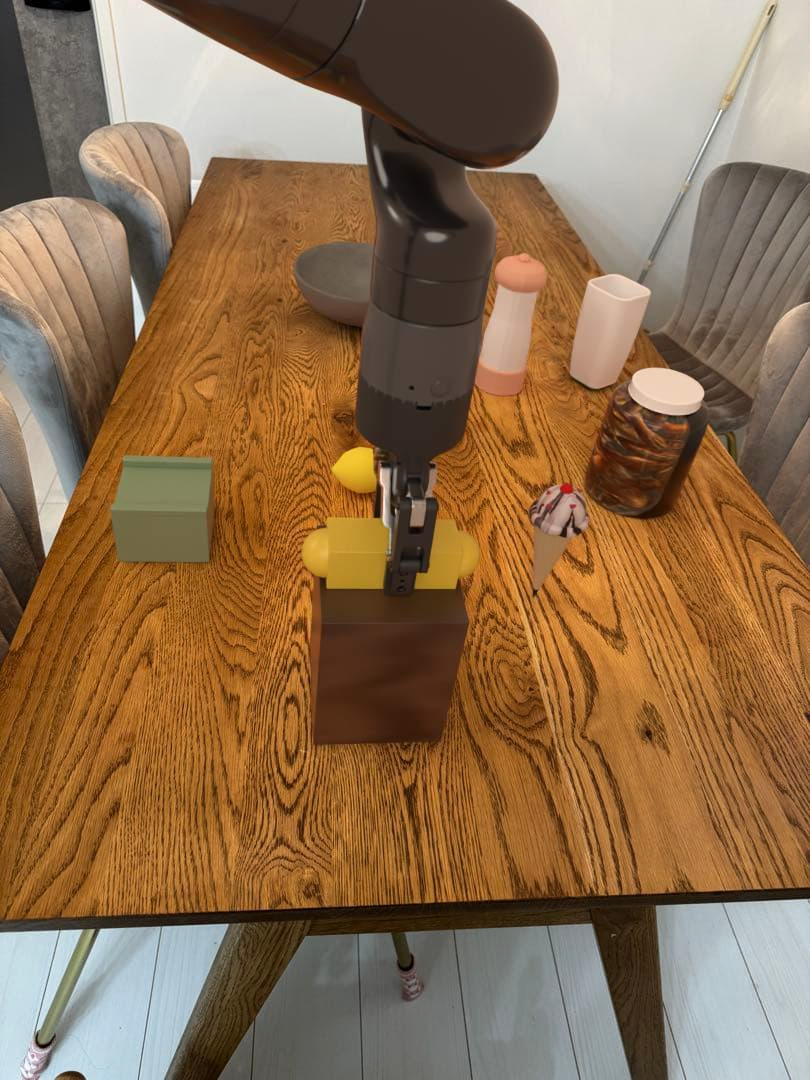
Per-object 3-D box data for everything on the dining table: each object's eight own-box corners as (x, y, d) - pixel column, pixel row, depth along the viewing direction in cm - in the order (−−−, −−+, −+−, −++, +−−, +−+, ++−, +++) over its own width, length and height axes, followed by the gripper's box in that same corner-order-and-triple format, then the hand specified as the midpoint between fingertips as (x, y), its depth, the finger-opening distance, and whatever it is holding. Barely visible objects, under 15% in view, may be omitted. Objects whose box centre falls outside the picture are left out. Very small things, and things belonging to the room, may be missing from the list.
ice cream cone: (535, 572, 88) (569, 459, 79) (571, 604, 85) (612, 491, 75) (495, 590, 85) (526, 475, 76) (532, 625, 82) (569, 510, 72)
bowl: (437, 304, 136) (444, 258, 131) (407, 360, 121) (413, 309, 116) (317, 278, 139) (319, 231, 134) (272, 329, 123) (272, 278, 118)
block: (118, 561, 82) (109, 509, 78) (130, 505, 89) (123, 454, 84) (209, 562, 84) (206, 511, 79) (214, 507, 90) (212, 457, 86)
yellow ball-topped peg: (301, 589, 61) (302, 551, 59) (300, 553, 64) (301, 516, 62) (479, 589, 63) (488, 553, 61) (470, 555, 66) (479, 519, 64)
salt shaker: (465, 371, 120) (489, 243, 108) (510, 369, 122) (538, 243, 110) (484, 397, 115) (511, 266, 103) (530, 394, 117) (562, 265, 105)
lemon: (387, 476, 98) (392, 438, 95) (391, 504, 94) (396, 466, 91) (329, 474, 97) (332, 436, 94) (331, 502, 93) (333, 463, 90)
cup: (625, 385, 123) (656, 292, 113) (593, 397, 119) (623, 301, 109) (589, 364, 126) (616, 272, 117) (557, 375, 123) (583, 280, 113)
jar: (677, 529, 97) (723, 422, 87) (580, 506, 98) (615, 399, 88) (675, 474, 106) (716, 372, 96) (586, 454, 107) (618, 351, 97)
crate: (312, 745, 68) (321, 623, 59) (309, 646, 77) (316, 524, 67) (441, 741, 70) (469, 622, 60) (424, 645, 78) (447, 526, 69)
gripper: (352, 313, 57) (338, 496, 67) (368, 426, 46) (348, 622, 57) (457, 319, 58) (427, 498, 68) (496, 431, 47) (453, 622, 58)
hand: (391, 554), depth 63 cm, fingers open, 8 cm apart
